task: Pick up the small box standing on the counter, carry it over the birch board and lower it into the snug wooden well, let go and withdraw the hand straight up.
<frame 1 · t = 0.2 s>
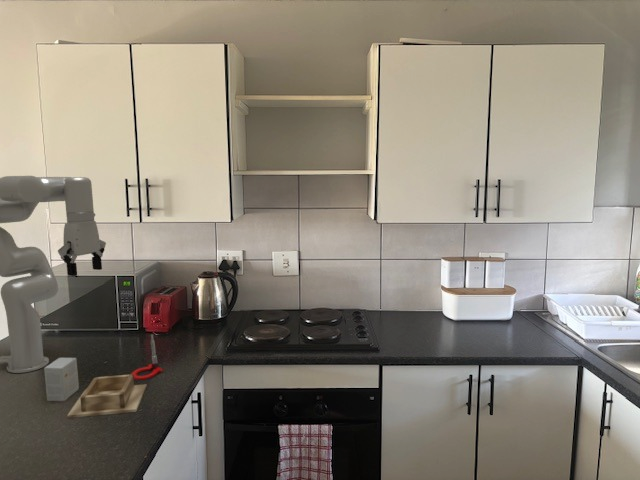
hand: (85, 272, 144), 36 cm above the table, tool pointing down, fingers open, 9 cm apart
well: (109, 401, 137), on the table
small box: (63, 395, 141), on the table
tow hook: (145, 374, 156), on the table
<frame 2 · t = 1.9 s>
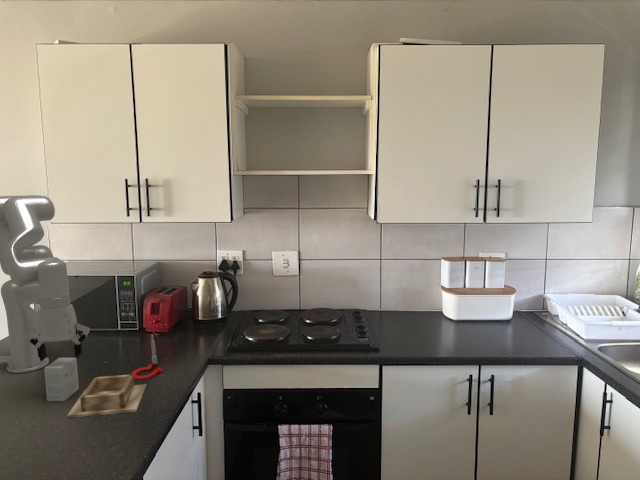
hand: (60, 357, 139), 12 cm above the table, tool pointing down, fingers open, 9 cm apart
nothing on the table moved.
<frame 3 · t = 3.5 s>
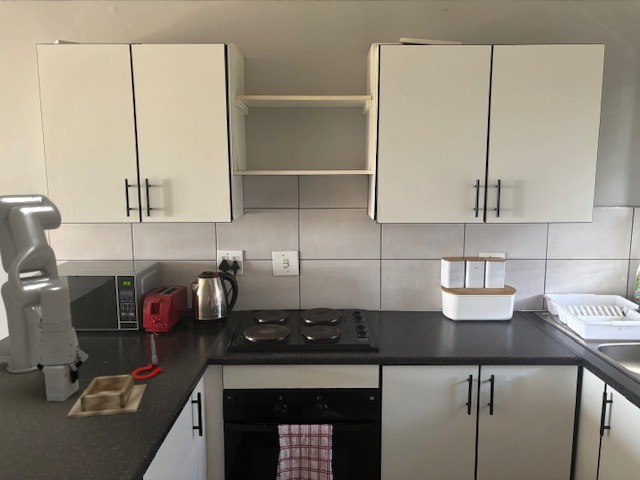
hand: (62, 382, 140), 4 cm above the table, tool pointing down, fingers closed on small box, 6 cm apart
small box: (63, 395, 141), on the table, touching gripper
everything else where it was.
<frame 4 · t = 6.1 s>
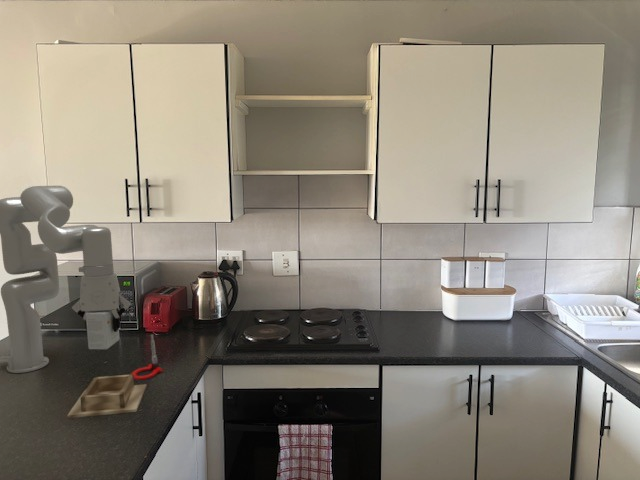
hand: (103, 330, 134), 22 cm above the table, tool pointing down, fingers closed on small box, 6 cm apart
small box: (104, 345, 134), point 17 cm above the table, touching gripper
everything else where it was.
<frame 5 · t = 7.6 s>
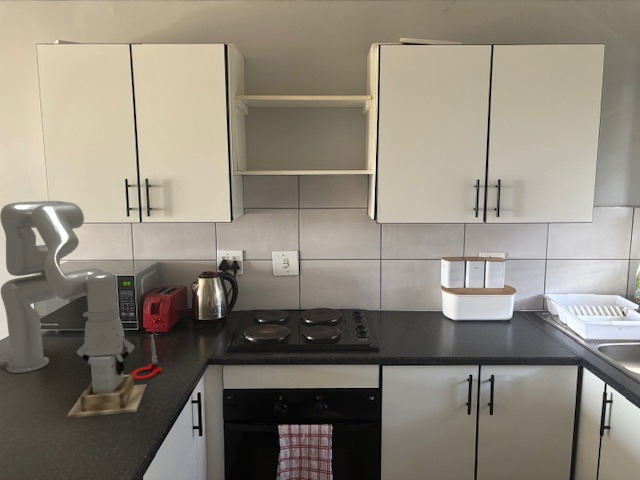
hand: (107, 373, 136), 9 cm above the table, tool pointing down, fingers closed on small box, 6 cm apart
small box: (108, 387, 136), point 4 cm above the table, touching gripper
everything else where it was.
when the fingers open (6 cm above the table, at t = 8.8 s): small box drops 1 cm, resting on well.
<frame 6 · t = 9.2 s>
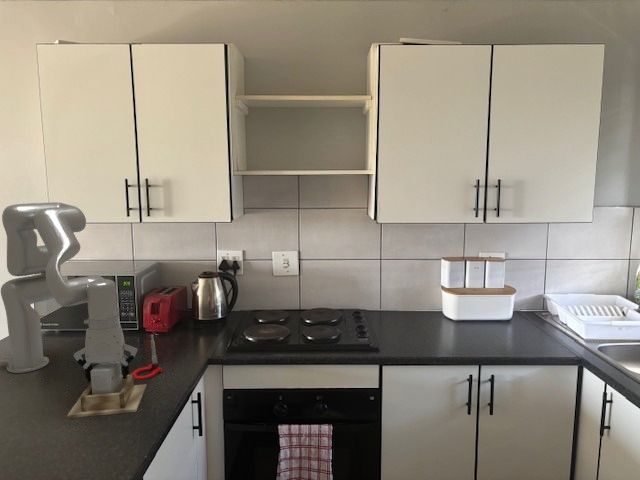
hand: (108, 378, 136), 7 cm above the table, tool pointing down, fingers open, 9 cm apart
small box: (108, 399, 137), point 1 cm above the table, touching well
everything else where it was.
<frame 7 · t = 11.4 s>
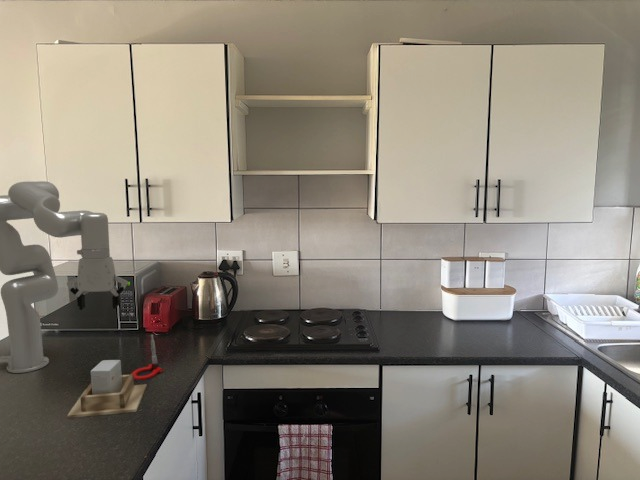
hand: (99, 308, 143), 26 cm above the table, tool pointing down, fingers open, 9 cm apart
nothing on the table moved.
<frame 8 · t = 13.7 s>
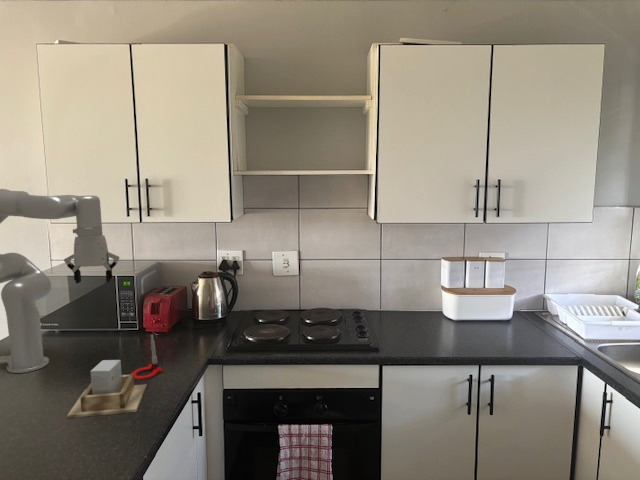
hand: (93, 281, 158), 30 cm above the table, tool pointing down, fingers open, 9 cm apart
nothing on the table moved.
at the end: small box 0.4 cm from the well (horizontally); small box tilted 0°; the gripper is holding nothing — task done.
